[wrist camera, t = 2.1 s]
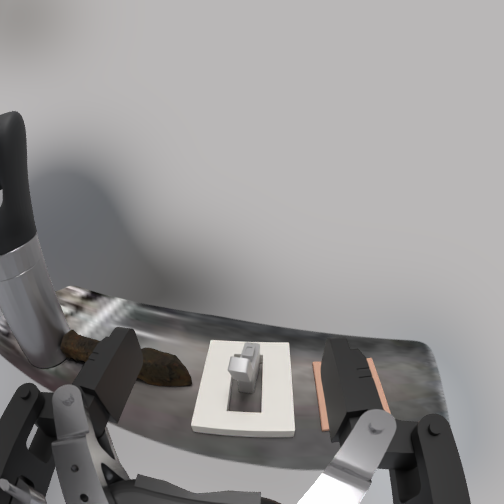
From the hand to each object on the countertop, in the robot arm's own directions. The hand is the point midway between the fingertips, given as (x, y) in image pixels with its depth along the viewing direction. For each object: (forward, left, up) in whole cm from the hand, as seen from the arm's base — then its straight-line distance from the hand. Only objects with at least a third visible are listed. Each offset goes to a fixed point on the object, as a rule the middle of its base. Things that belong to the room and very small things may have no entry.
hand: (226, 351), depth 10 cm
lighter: (0, +11, -18) cm, 21 cm away
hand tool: (-16, +12, -18) cm, 27 cm away
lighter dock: (0, +11, -18) cm, 21 cm away
